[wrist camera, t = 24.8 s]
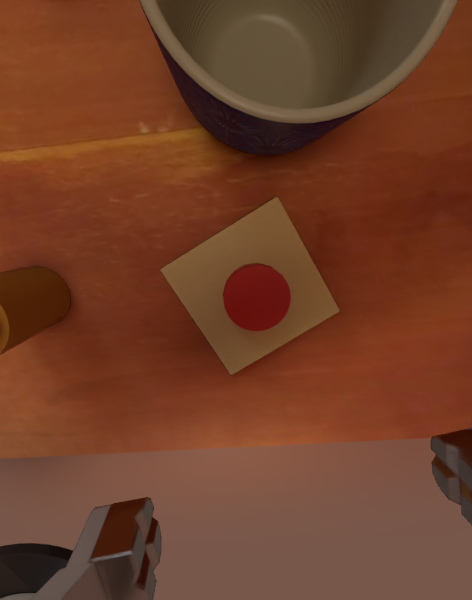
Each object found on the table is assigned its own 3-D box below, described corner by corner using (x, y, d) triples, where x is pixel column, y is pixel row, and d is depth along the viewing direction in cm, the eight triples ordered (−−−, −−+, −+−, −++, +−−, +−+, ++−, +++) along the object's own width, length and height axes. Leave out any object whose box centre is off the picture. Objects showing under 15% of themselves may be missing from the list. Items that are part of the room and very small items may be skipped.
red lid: (216, 316, 33) (216, 322, 31) (232, 255, 32) (233, 257, 30) (275, 331, 34) (280, 338, 32) (293, 271, 33) (299, 275, 30)
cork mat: (337, 309, 35) (340, 311, 34) (230, 372, 36) (231, 375, 35) (275, 196, 32) (277, 195, 31) (161, 268, 33) (159, 269, 32)
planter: (284, -76, 27) (366, -454, 12) (380, 103, 30) (536, -19, 16) (130, 51, 28) (35, -148, 13) (240, 209, 32) (260, 189, 17)
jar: (83, 305, 33) (10, 346, 21) (34, 337, 33) (-64, 394, 22) (43, 254, 32) (-58, 267, 20) (-7, 287, 32) (-135, 320, 20)
